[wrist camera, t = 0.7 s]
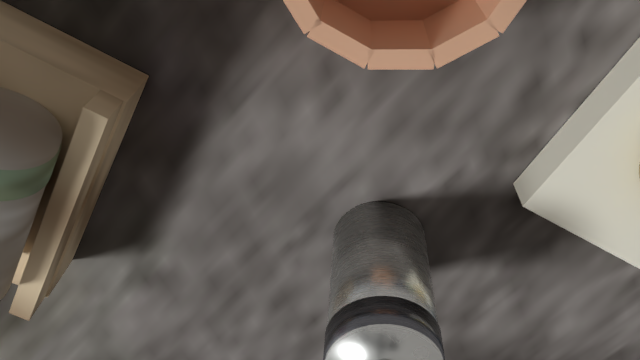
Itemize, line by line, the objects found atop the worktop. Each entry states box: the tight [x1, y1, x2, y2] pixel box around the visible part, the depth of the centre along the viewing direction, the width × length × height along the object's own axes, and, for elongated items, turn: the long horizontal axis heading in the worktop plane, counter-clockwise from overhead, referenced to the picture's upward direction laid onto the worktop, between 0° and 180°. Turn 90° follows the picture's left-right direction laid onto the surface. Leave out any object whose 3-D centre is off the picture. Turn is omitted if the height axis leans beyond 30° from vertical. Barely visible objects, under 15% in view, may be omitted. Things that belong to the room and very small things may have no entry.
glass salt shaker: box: [323, 202, 445, 360], centre depth 22 cm, size 4×4×8 cm
